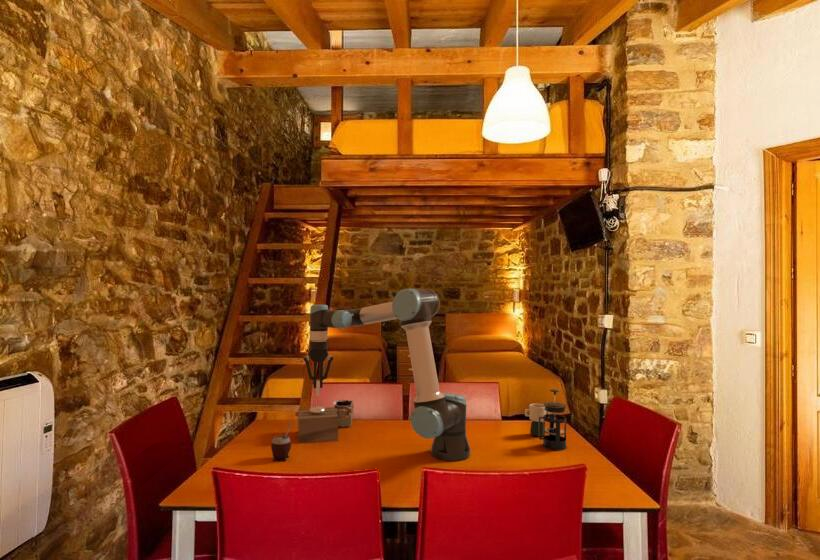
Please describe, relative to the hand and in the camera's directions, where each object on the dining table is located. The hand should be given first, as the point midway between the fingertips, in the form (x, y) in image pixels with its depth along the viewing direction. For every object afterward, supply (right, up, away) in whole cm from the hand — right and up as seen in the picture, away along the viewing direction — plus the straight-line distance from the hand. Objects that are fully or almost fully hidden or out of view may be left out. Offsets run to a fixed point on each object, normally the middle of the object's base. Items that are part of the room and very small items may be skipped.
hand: (317, 395), depth 206 cm
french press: (+98, -18, -11) cm, 100 cm away
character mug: (+95, -19, +4) cm, 97 cm away
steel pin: (0, -17, 0) cm, 17 cm away
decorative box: (+7, -18, +21) cm, 29 cm away
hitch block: (0, -17, 0) cm, 17 cm away
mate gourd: (-8, -17, -28) cm, 34 cm away
